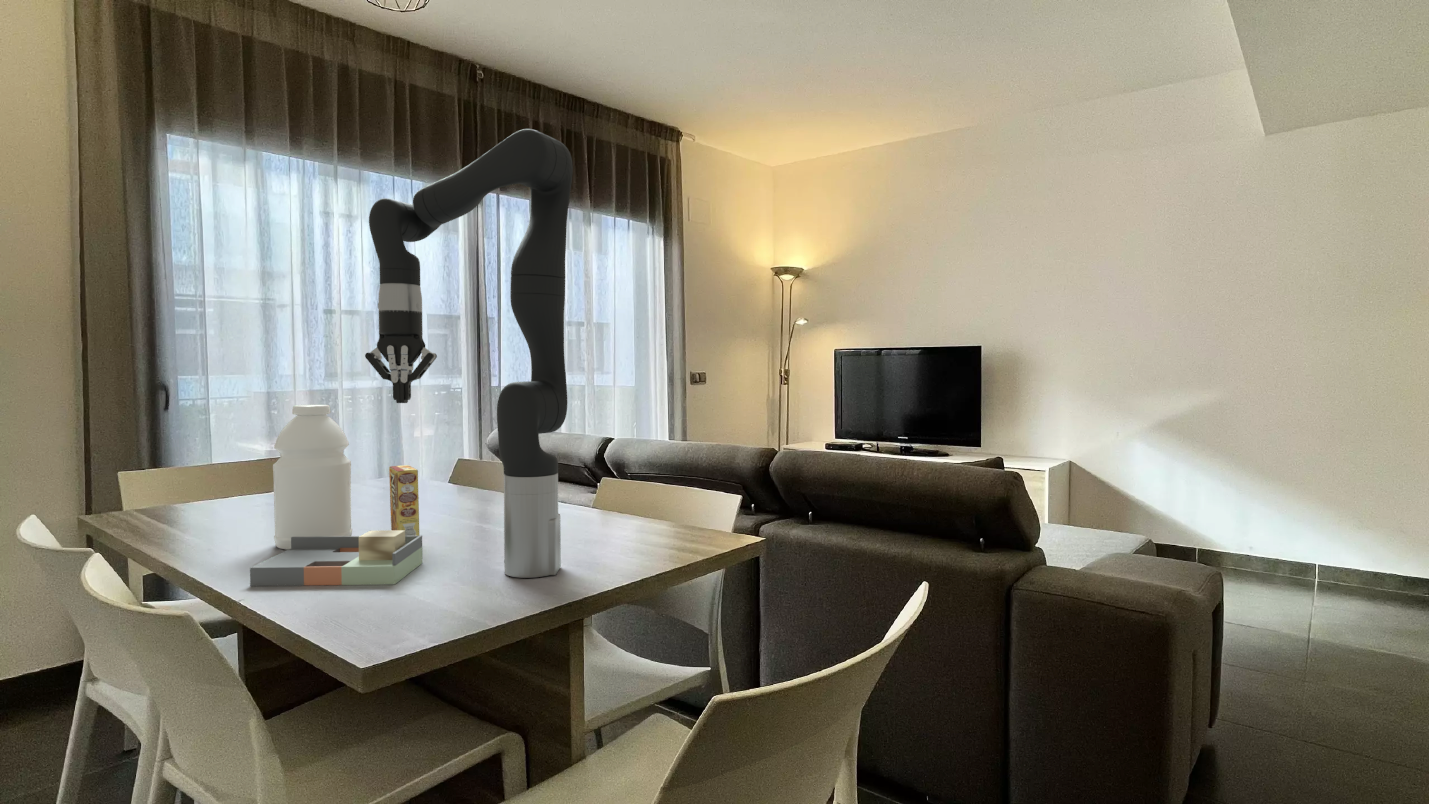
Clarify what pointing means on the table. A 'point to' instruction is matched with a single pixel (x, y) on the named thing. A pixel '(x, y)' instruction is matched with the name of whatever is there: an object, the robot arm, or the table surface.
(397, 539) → the birch block
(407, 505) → the candy box
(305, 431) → the bottle
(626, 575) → the table surface
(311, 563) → the box
